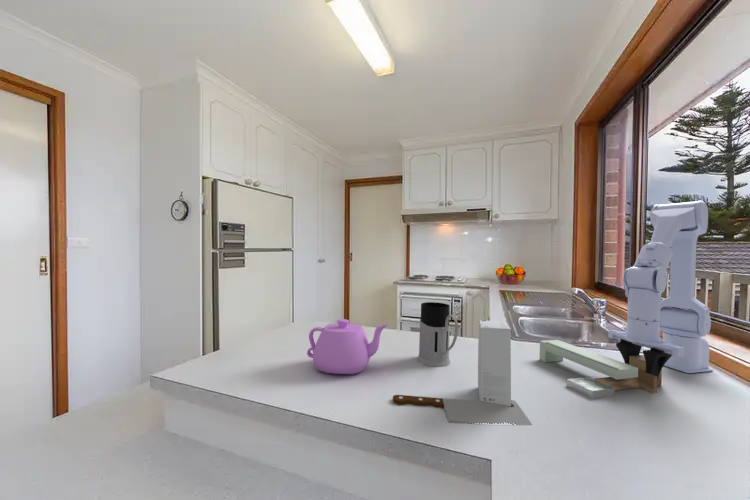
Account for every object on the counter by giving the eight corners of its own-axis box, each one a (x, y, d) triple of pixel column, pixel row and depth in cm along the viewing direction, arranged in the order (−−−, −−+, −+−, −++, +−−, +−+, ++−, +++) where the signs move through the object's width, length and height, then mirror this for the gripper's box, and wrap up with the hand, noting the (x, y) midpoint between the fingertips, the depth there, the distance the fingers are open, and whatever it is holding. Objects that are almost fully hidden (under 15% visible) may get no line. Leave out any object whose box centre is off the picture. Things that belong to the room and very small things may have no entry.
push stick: (634, 375, 75) (634, 351, 75) (673, 390, 68) (674, 363, 68) (582, 381, 71) (583, 355, 71) (618, 397, 64) (618, 368, 64)
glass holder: (438, 353, 88) (440, 301, 88) (470, 372, 74) (472, 311, 74) (411, 356, 85) (413, 302, 85) (439, 377, 71) (441, 312, 71)
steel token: (587, 385, 70) (587, 376, 70) (613, 397, 64) (614, 388, 64) (566, 387, 69) (566, 379, 69) (592, 400, 63) (592, 391, 63)
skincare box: (511, 409, 57) (513, 329, 57) (477, 403, 59) (479, 326, 59) (506, 390, 65) (508, 320, 65) (476, 385, 67) (478, 317, 67)
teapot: (297, 376, 69) (299, 324, 69) (314, 356, 83) (315, 312, 83) (385, 382, 68) (387, 329, 68) (388, 360, 81) (389, 316, 81)
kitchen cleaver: (391, 417, 52) (393, 388, 62) (391, 423, 53) (393, 393, 62) (539, 431, 50) (517, 399, 60) (539, 437, 50) (517, 404, 60)
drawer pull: (557, 358, 87) (557, 338, 87) (637, 392, 66) (638, 366, 66) (539, 359, 85) (540, 339, 85) (616, 394, 65) (617, 368, 65)
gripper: (599, 312, 77) (598, 367, 77) (667, 327, 63) (666, 393, 63) (620, 312, 78) (619, 365, 78) (692, 326, 64) (690, 390, 64)
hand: (641, 377), depth 71 cm, fingers closed on push stick, 3 cm apart
